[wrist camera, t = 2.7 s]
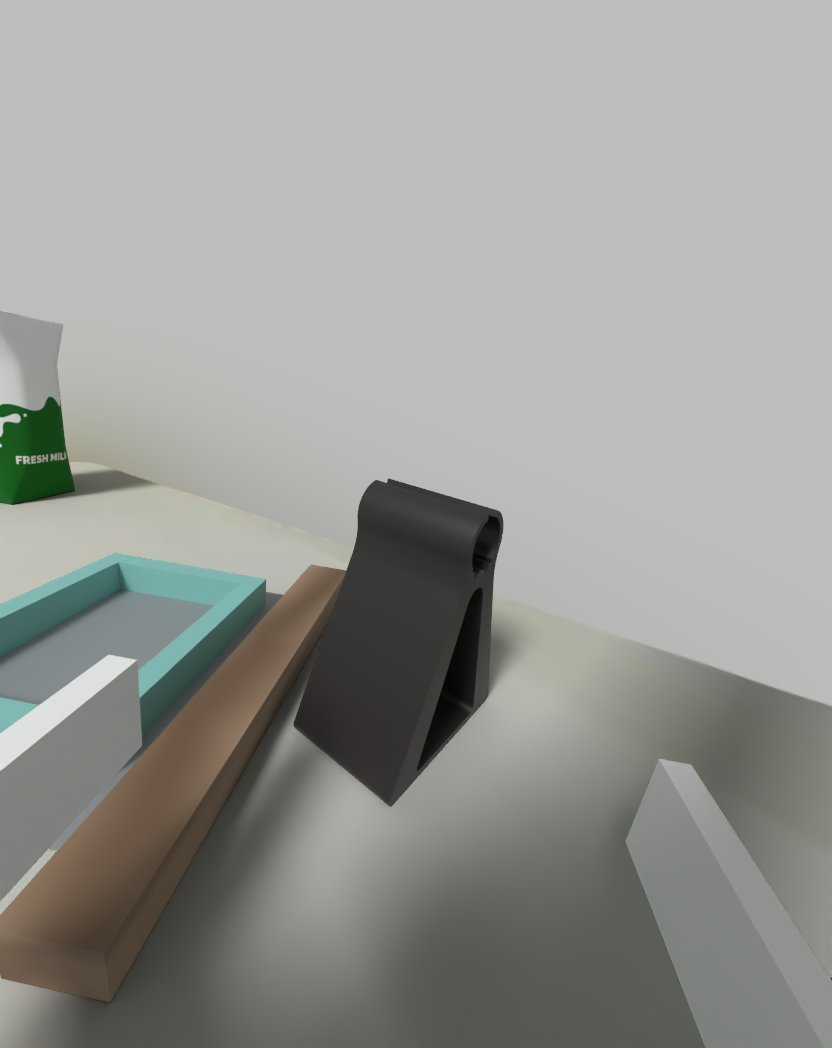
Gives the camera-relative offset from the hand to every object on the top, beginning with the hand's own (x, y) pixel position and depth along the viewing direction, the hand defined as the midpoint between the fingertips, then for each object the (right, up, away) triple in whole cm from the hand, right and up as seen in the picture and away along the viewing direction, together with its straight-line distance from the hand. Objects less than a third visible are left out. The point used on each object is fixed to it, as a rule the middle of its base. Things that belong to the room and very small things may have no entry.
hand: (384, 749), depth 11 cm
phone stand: (0, -5, +12) cm, 12 cm away
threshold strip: (-7, -3, +12) cm, 14 cm away
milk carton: (-42, +9, +35) cm, 56 cm away
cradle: (-16, -2, +12) cm, 20 cm away
